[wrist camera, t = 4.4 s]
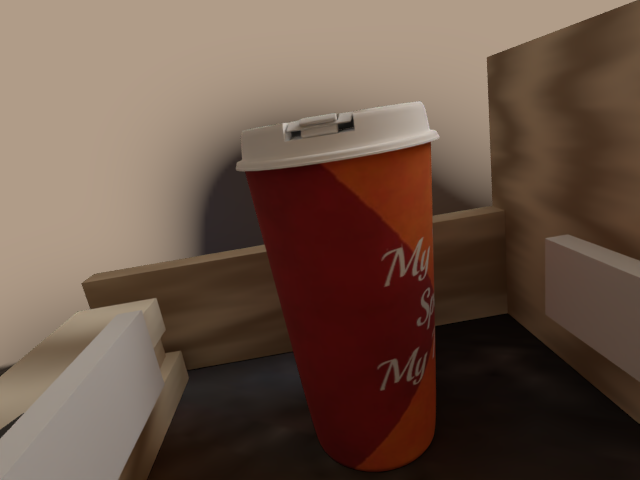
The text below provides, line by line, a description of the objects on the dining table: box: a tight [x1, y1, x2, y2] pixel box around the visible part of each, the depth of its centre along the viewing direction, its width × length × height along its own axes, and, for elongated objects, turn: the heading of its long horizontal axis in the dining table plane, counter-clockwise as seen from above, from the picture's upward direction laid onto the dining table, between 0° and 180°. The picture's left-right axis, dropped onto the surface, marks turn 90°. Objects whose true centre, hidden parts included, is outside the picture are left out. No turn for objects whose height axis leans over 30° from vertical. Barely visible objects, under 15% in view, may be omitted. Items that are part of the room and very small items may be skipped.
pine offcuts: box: [0, 298, 189, 480], centre depth 17 cm, size 14×5×6 cm, turn 4°
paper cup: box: [236, 101, 439, 472], centre depth 17 cm, size 8×8×14 cm
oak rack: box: [82, 0, 640, 424], centre depth 17 cm, size 17×28×16 cm, turn 94°
